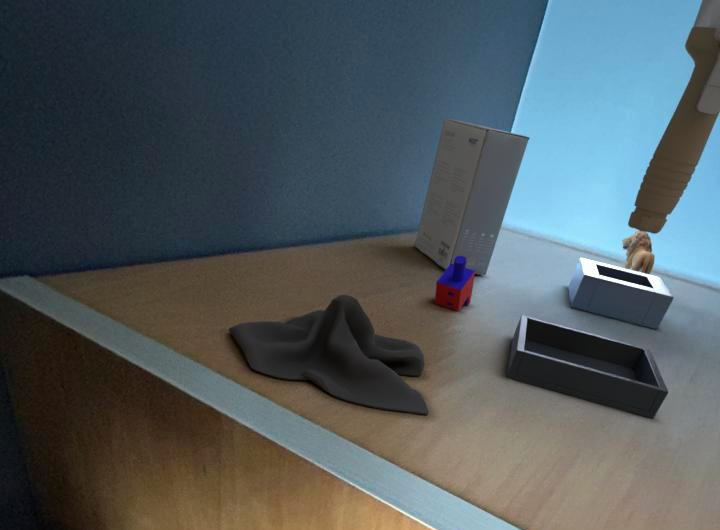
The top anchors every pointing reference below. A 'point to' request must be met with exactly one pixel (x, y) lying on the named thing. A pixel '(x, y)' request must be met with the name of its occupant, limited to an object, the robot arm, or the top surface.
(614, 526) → the top surface
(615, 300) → the block
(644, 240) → the lion figurine
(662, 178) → the handle
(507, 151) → the hard drive box
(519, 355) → the basin
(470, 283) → the toy building block
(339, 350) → the cloth
